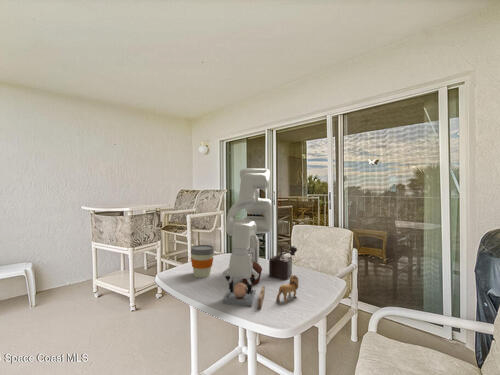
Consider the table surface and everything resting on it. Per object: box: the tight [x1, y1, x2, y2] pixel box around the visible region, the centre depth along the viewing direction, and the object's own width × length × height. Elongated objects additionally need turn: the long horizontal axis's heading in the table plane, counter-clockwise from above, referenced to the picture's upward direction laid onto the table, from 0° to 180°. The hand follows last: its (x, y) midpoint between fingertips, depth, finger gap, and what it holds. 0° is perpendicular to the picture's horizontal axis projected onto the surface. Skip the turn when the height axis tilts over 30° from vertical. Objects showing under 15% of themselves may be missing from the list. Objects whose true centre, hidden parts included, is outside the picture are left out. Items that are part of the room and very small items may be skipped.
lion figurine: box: [276, 274, 300, 304], centre depth 106 cm, size 15×5×9 cm, turn 141°
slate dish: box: [222, 287, 257, 307], centre depth 105 cm, size 12×12×2 cm
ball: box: [233, 282, 248, 298], centre depth 105 cm, size 6×6×6 cm
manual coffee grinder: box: [268, 245, 298, 280], centre depth 133 cm, size 16×11×18 cm
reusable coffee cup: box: [190, 244, 215, 279], centre depth 133 cm, size 13×13×15 cm
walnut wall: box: [257, 285, 266, 310], centre depth 102 cm, size 13×1×4 cm, turn 171°
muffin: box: [241, 262, 263, 286], centre depth 124 cm, size 12×11×10 cm
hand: (240, 291), depth 105 cm, fingers open, 7 cm apart
